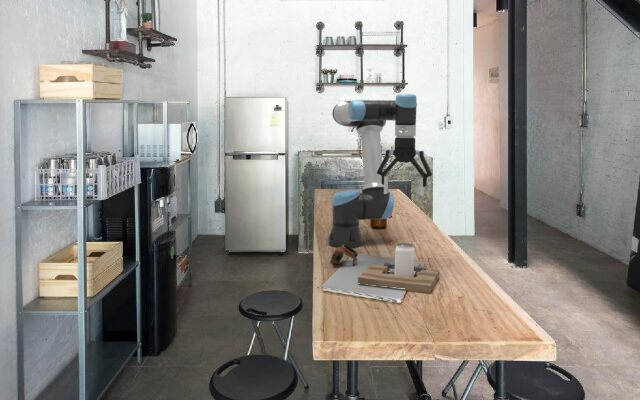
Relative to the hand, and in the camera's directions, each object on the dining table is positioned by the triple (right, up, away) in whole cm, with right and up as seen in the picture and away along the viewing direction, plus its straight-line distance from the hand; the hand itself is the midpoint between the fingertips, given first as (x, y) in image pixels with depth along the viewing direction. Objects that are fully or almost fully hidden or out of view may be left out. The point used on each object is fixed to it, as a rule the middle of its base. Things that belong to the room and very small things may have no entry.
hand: (403, 194), depth 197 cm
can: (-2, -29, -14) cm, 33 cm away
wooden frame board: (-4, -30, -16) cm, 34 cm away
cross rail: (-1, -28, -9) cm, 30 cm away
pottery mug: (-23, -27, +4) cm, 35 cm away
